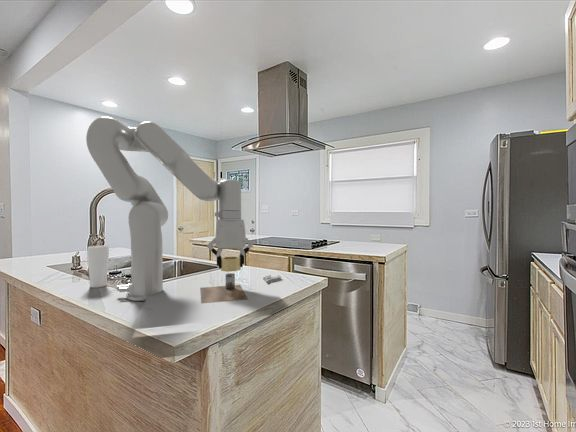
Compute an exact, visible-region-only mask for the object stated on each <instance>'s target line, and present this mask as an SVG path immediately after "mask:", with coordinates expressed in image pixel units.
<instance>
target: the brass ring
mask: <svg viewBox="0 0 576 432" xmlns="http://www.w3.org/2000/svg"><path fill="white" fill-rule="evenodd" d="M241 269H242V267H241V258H240V257H239V256H224V257H222V256H221V268H220V271H221V272H226V273H227V272H228V273H231V272H237V271H240V270H241Z"/></svg>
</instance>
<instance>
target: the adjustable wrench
mask: <svg viewBox="0 0 576 432" xmlns="http://www.w3.org/2000/svg"><path fill="white" fill-rule="evenodd" d="M262 279H263V281H264V282H265V283H266V284H270V283H274V282H279V281H281V280H282V277H281V275H279V274H278V275H277V276H272V274H268V275H265V276H263V278H262Z"/></svg>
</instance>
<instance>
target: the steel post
mask: <svg viewBox="0 0 576 432" xmlns="http://www.w3.org/2000/svg"><path fill="white" fill-rule="evenodd" d="M235 285H236V274H235V273H234V272H232V273H231V272H228V273H225V286H226V289H227V290H233V289H235Z"/></svg>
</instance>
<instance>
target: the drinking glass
mask: <svg viewBox="0 0 576 432" xmlns="http://www.w3.org/2000/svg"><path fill="white" fill-rule="evenodd" d="M109 254H110V253H109V245H101V244H100V245H90V246H87V250H86V256H87V258H86V259H87V268H88V269H87V270H88V275H89V287H90V288H93V289H98V288H102V287H105V286H107V284H108V281H107V280H108V270H109V268H108V267H109V257H110V255H109Z"/></svg>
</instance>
